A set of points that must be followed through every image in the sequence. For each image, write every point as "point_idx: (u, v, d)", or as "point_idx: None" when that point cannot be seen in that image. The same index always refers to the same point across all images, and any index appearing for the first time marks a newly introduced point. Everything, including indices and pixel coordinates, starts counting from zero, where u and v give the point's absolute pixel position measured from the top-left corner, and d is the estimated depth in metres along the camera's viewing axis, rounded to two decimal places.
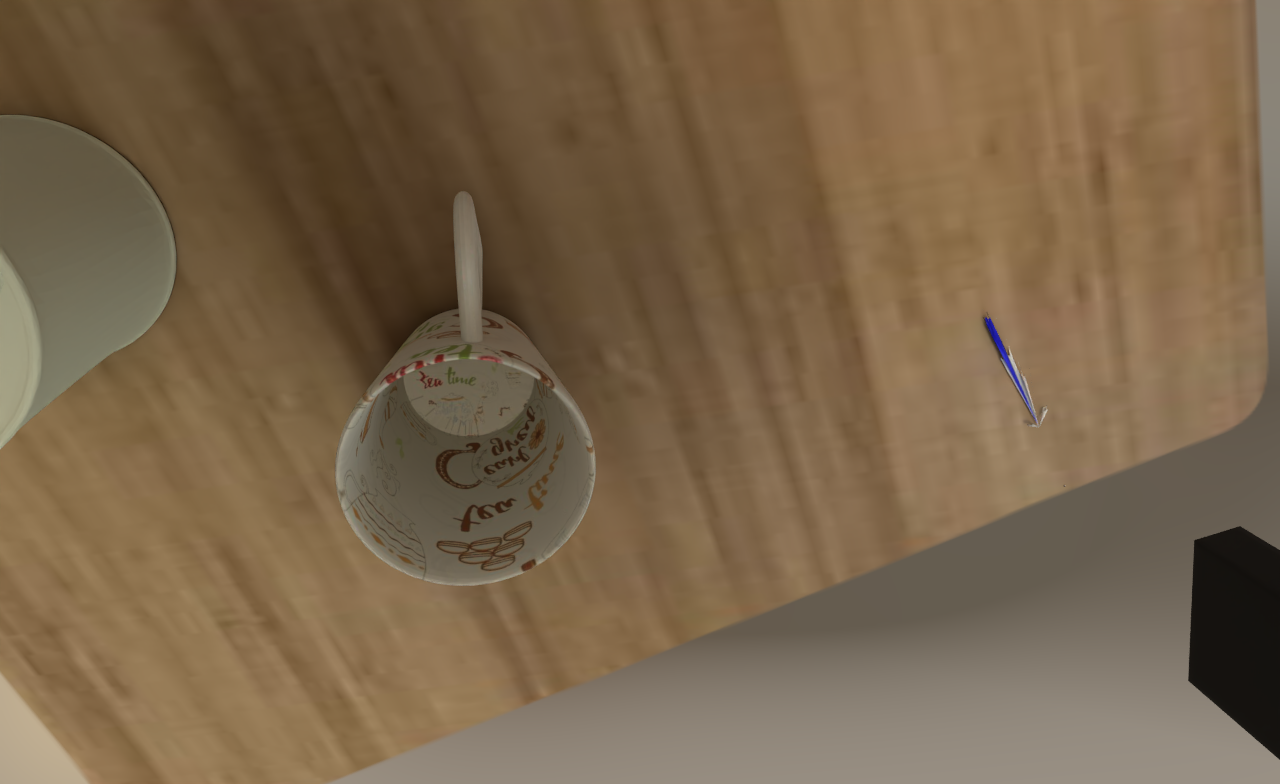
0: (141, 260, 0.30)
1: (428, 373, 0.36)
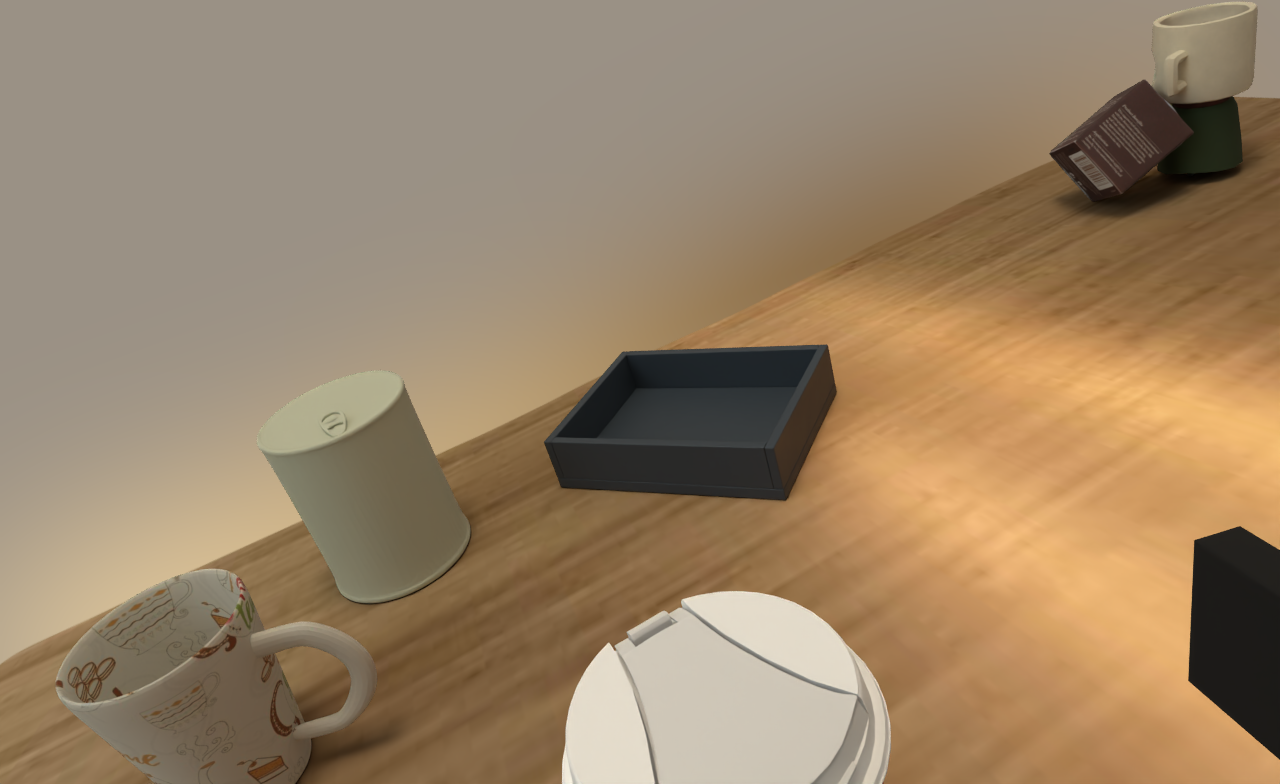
0: (373, 557, 0.52)
1: None
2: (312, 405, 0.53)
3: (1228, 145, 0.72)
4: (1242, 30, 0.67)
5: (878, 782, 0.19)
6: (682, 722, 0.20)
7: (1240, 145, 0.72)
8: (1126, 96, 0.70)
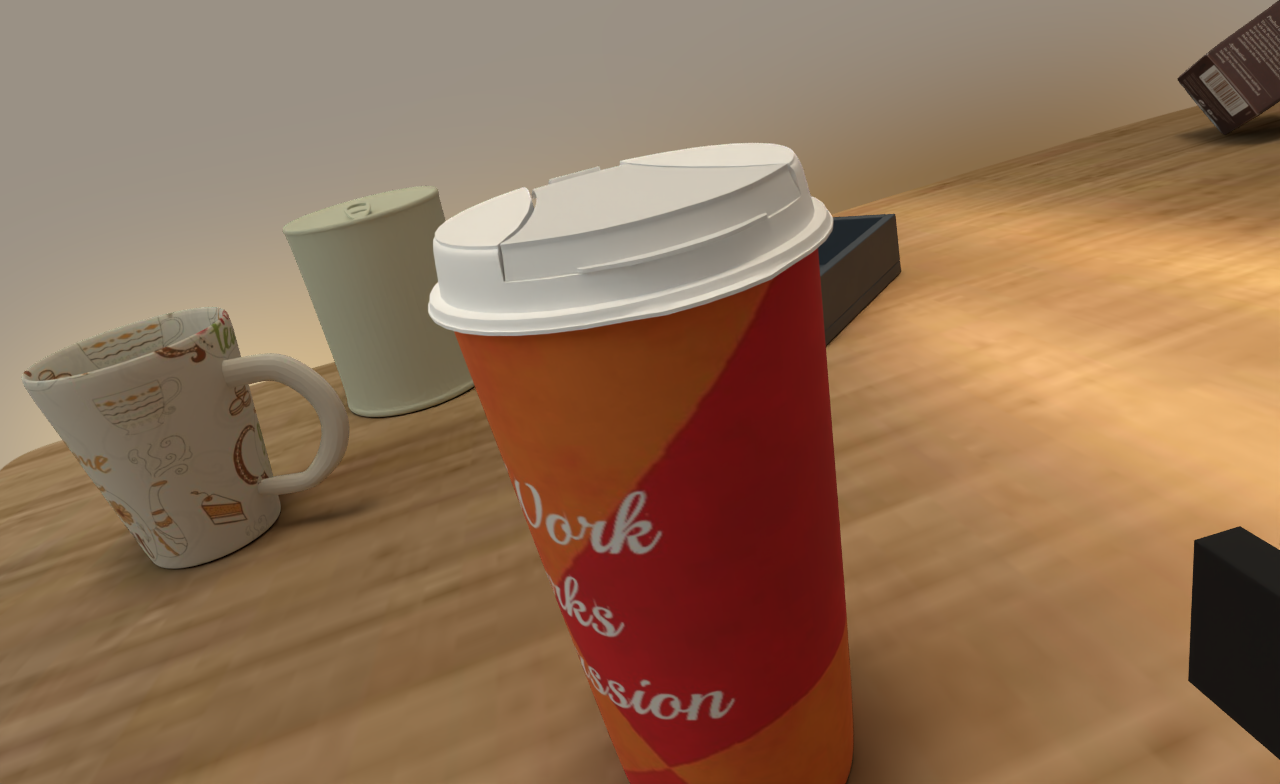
0: (382, 363, 0.50)
1: None
2: None
3: None
4: None
5: (797, 253, 0.15)
6: (573, 201, 0.17)
7: None
8: (1273, 6, 0.62)
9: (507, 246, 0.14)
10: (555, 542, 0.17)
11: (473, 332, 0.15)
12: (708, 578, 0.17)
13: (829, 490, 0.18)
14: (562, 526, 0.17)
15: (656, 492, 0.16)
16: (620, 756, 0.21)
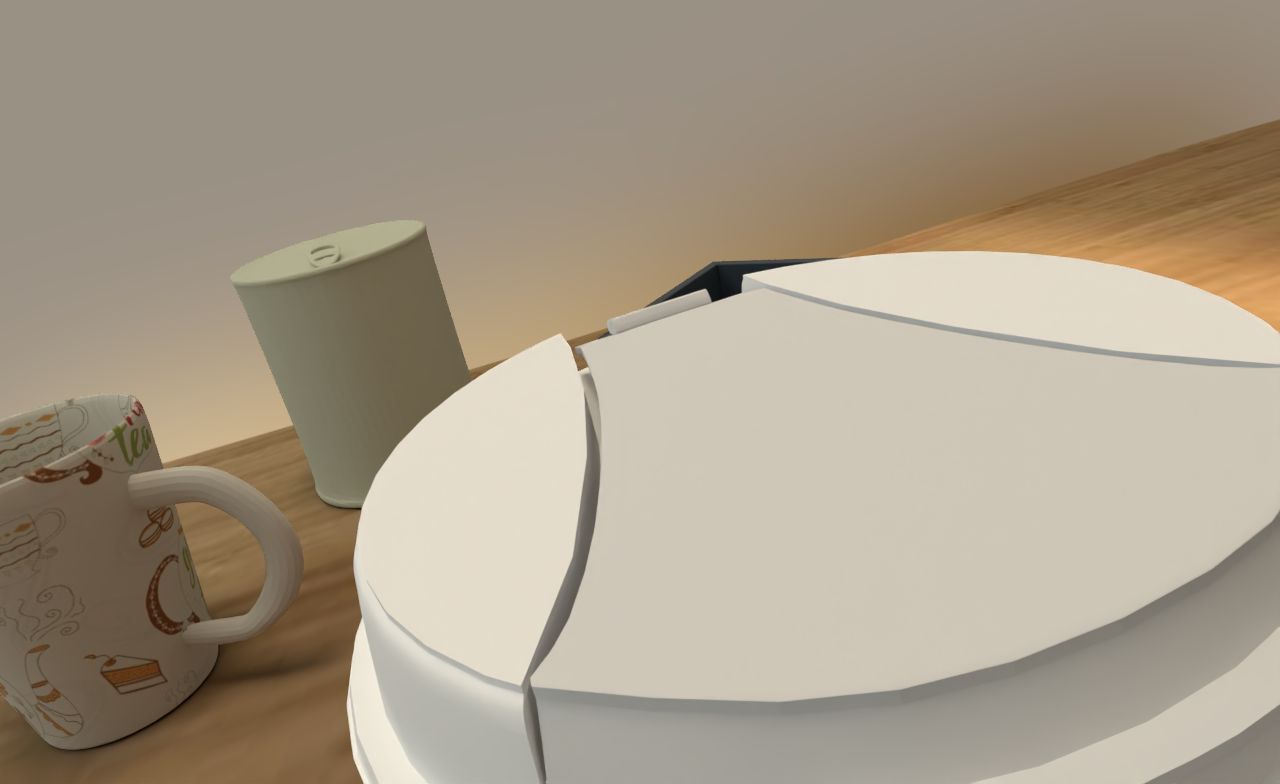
0: (356, 444, 0.40)
1: None
2: (312, 248, 0.42)
3: None
4: None
5: None
6: (698, 436, 0.07)
7: None
8: None
9: (555, 697, 0.04)
10: None
11: None
12: None
13: None
14: None
15: None
16: None
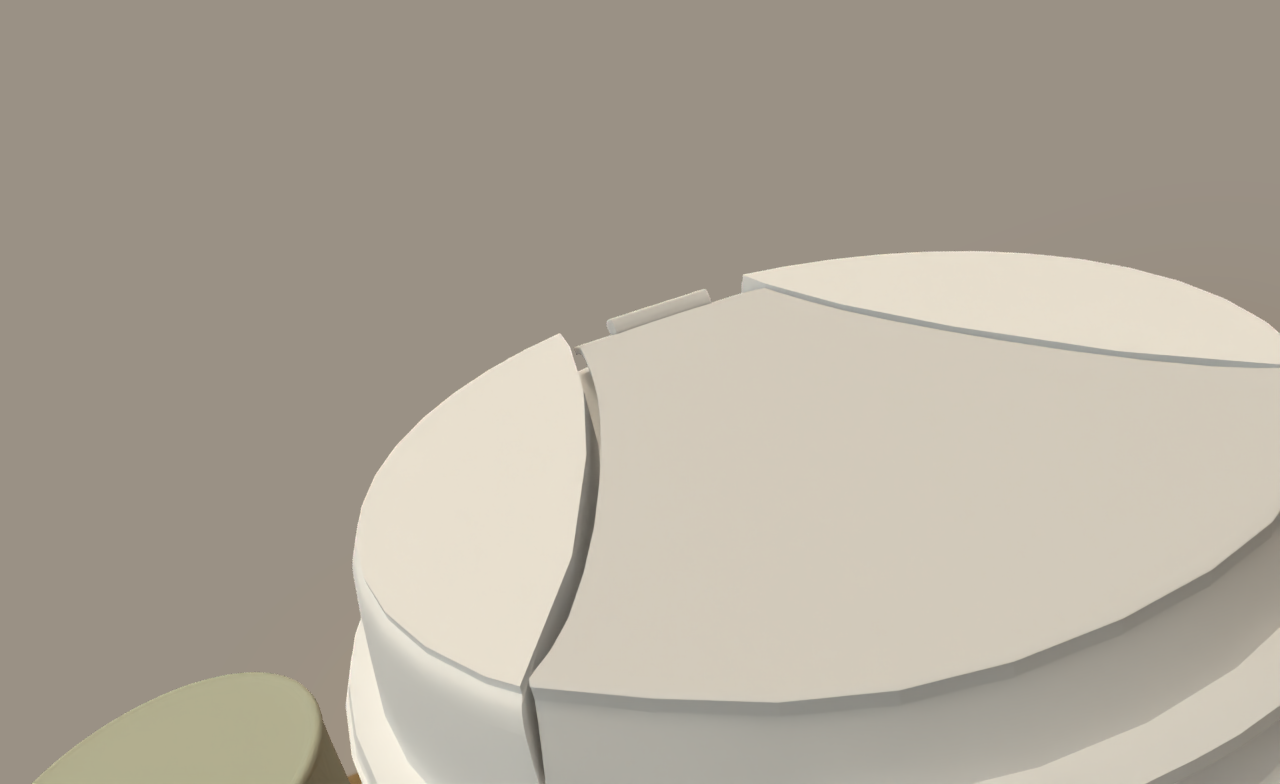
0: None
1: None
2: (138, 751, 0.26)
3: None
4: None
5: None
6: (698, 436, 0.07)
7: None
8: None
9: (554, 698, 0.04)
10: None
11: None
12: None
13: None
14: None
15: None
16: None
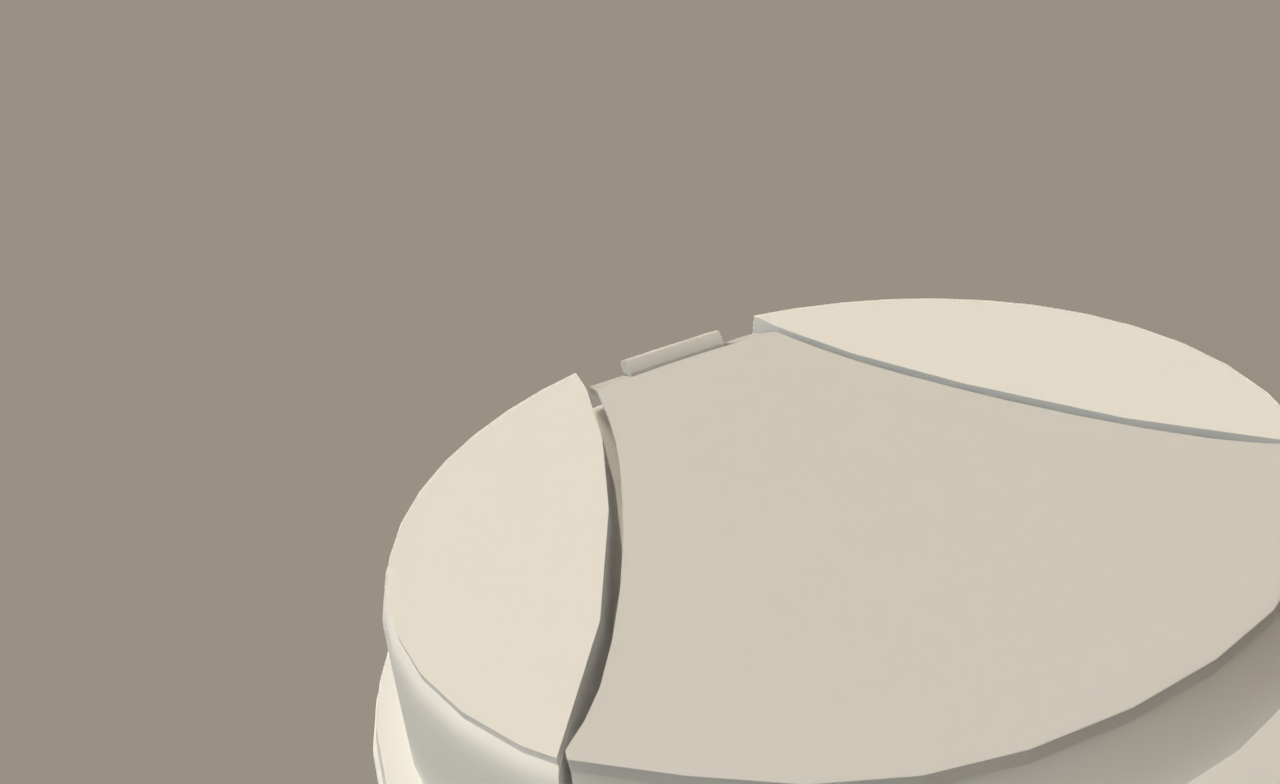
0: None
1: None
2: None
3: None
4: None
5: None
6: (718, 494, 0.07)
7: None
8: None
9: (590, 770, 0.05)
10: None
11: None
12: None
13: None
14: None
15: None
16: None
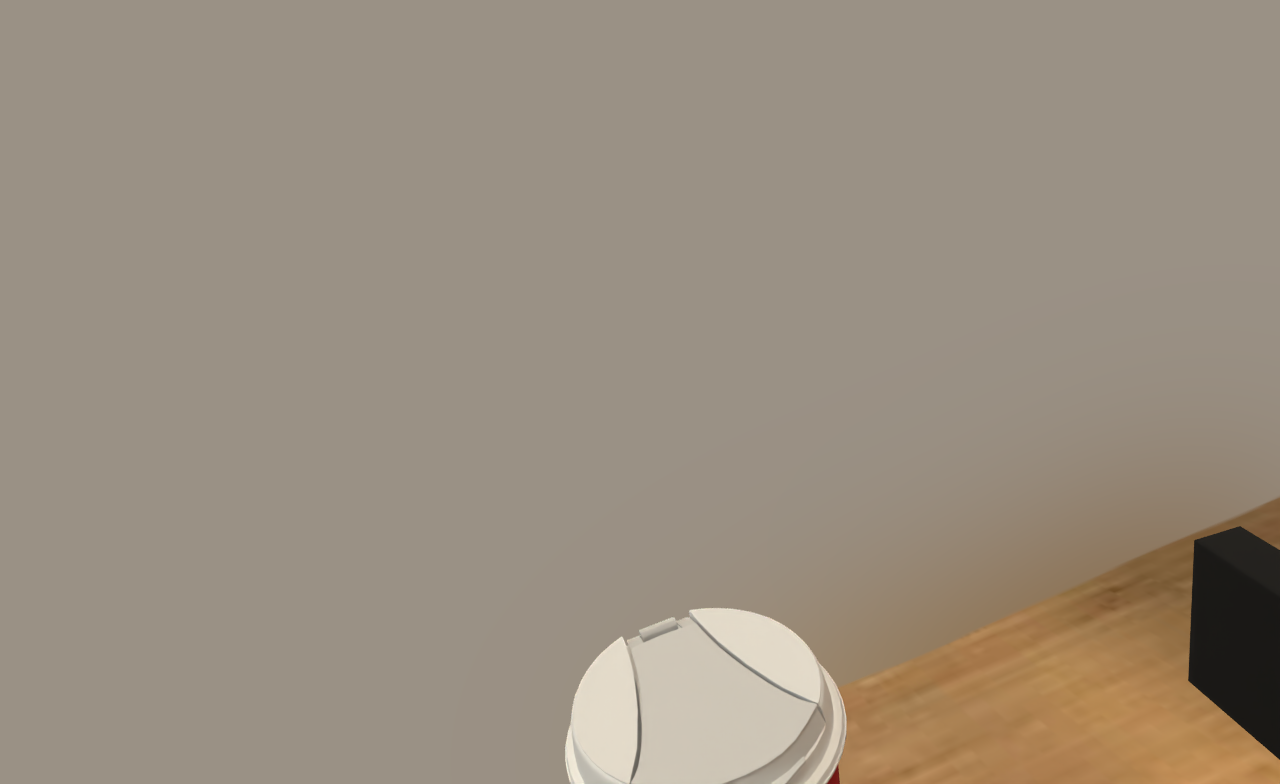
0: None
1: None
2: None
3: None
4: None
5: (824, 779, 0.23)
6: (669, 706, 0.24)
7: None
8: None
9: None
10: None
11: None
12: None
13: None
14: None
15: None
16: None
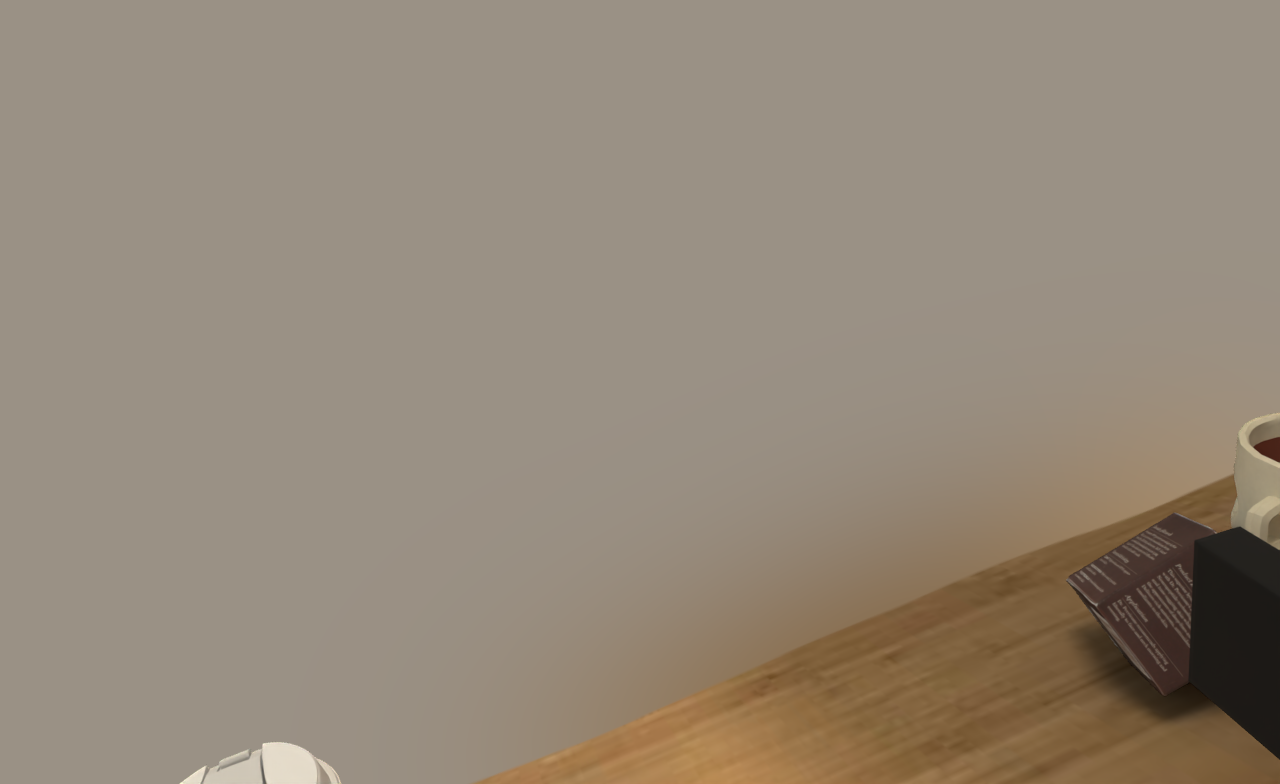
0: None
1: None
2: None
3: None
4: None
5: None
6: None
7: None
8: (1183, 551, 0.45)
9: None
10: None
11: None
12: None
13: None
14: None
15: None
16: None
